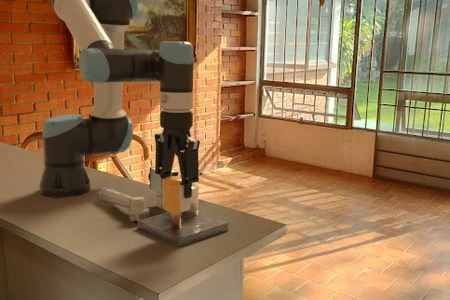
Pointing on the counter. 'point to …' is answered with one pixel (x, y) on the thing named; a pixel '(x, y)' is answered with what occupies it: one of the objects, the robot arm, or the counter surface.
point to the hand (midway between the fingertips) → (176, 207)
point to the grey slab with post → (183, 224)
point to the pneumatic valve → (157, 184)
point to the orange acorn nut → (172, 193)
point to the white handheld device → (125, 203)
